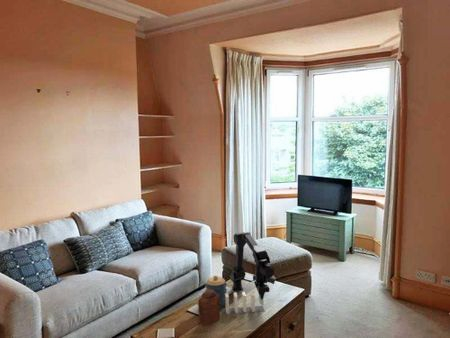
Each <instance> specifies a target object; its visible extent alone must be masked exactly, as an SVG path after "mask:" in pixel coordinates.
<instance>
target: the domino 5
mask: <svg viewBox="0 0 450 338" xmlns="http://www.w3.org/2000/svg"><path fill="white" fill-rule="evenodd" d="M258 301H259V305H260V306H264V303H265V302H264V298H263V299H261V298H260V295H259V294H258Z"/></svg>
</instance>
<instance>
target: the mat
mask: <svg viewBox="0 0 450 338" xmlns="http://www.w3.org/2000/svg"><path fill="white" fill-rule="evenodd" d="M221 312H222V316H228V315H230V316H232V315H240V314H241V315H243V314H254V313H255V314H256V313H265V312H266V311H265V308H264V305H255V312H252V310H251V306H246V312H243V308H242V306H241V307H238V313H235V311H234V307H229V314H226V308H221Z"/></svg>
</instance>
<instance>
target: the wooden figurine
mask: <svg viewBox="0 0 450 338" xmlns="http://www.w3.org/2000/svg"><path fill="white" fill-rule="evenodd" d="M205 290H206V289H205ZM205 290H204V291H203V292H202V293H201V296H200V298H198V307H197V310H198V311H197V312H198V314H199V324H200V325H201V326H208V325H211V324H213V323H216V322H219V320H220V319H221V318H220V317H221V307H220V306H219V304H220V299H219V295H217V293H216V292H215V291H214V290H206V291H205Z"/></svg>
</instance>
